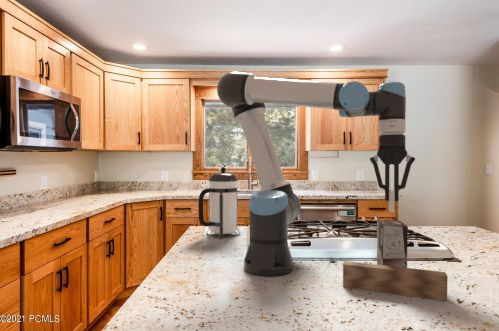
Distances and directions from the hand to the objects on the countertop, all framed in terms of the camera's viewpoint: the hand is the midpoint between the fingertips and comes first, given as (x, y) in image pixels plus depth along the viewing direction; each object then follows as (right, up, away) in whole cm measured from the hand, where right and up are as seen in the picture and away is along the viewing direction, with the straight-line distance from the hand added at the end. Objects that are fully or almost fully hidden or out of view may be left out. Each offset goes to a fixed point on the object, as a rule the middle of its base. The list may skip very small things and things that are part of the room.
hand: (391, 211), depth 103 cm
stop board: (-7, -18, -17) cm, 26 cm away
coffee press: (-56, -17, +44) cm, 73 cm away
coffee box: (-4, -18, -9) cm, 21 cm away
